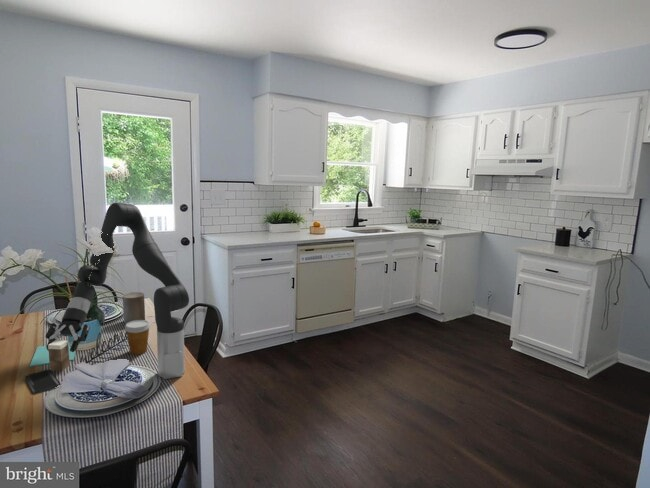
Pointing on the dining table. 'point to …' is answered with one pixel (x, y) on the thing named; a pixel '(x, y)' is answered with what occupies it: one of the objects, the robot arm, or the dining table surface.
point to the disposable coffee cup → (137, 336)
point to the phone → (42, 381)
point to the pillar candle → (133, 307)
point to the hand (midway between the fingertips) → (60, 350)
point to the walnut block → (58, 355)
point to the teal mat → (46, 356)
